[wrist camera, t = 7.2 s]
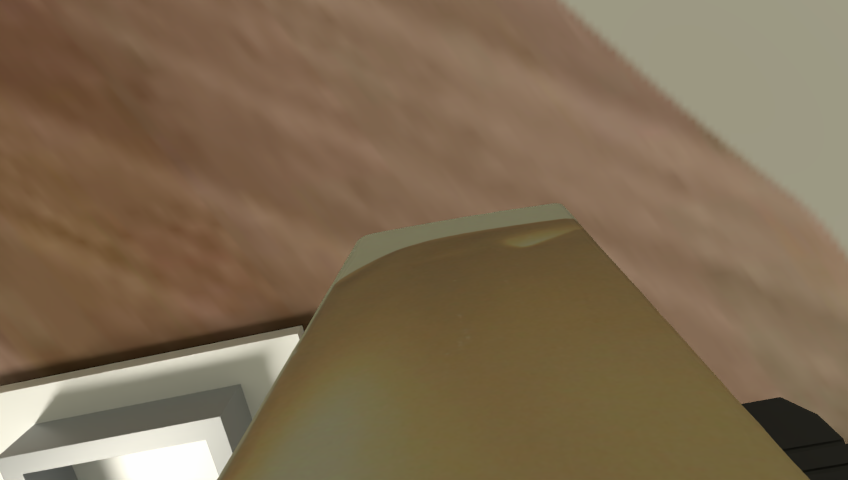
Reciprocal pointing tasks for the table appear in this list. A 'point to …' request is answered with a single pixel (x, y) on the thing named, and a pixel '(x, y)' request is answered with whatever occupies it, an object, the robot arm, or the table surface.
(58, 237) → the table surface
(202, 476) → the socket board
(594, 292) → the skincare box
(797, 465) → the robot arm
